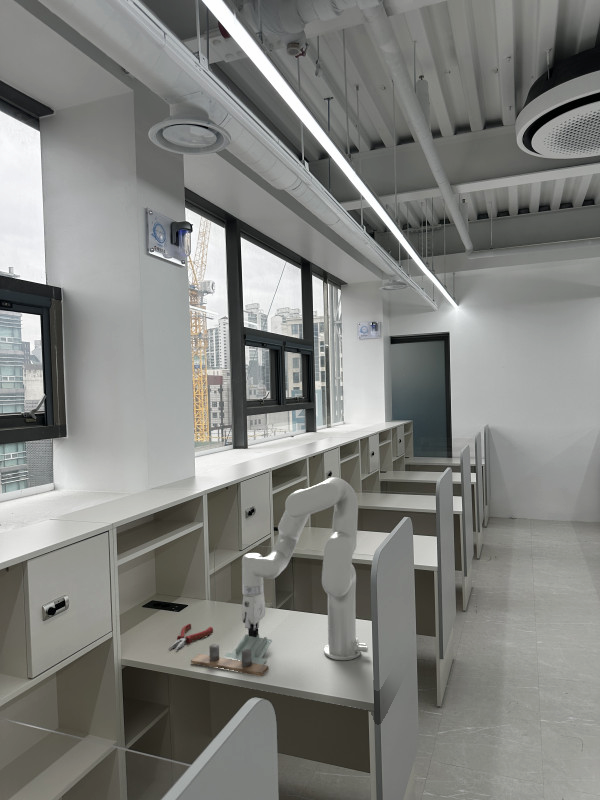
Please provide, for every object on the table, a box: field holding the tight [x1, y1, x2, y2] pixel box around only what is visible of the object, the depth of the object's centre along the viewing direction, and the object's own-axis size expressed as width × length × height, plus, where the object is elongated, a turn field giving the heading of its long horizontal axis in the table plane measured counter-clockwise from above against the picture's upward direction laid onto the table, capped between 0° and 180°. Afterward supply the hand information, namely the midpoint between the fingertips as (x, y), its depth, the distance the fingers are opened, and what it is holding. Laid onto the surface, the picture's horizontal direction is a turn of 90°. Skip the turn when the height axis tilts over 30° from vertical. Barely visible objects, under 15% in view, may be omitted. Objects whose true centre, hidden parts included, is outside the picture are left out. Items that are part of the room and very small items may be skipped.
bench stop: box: [190, 643, 270, 677], centre depth 183 cm, size 26×5×6 cm, turn 69°
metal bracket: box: [224, 633, 273, 665], centre depth 192 cm, size 14×6×15 cm
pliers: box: [168, 623, 214, 651], centre depth 204 cm, size 11×20×3 cm, turn 160°
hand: (253, 639), depth 200 cm, fingers closed
